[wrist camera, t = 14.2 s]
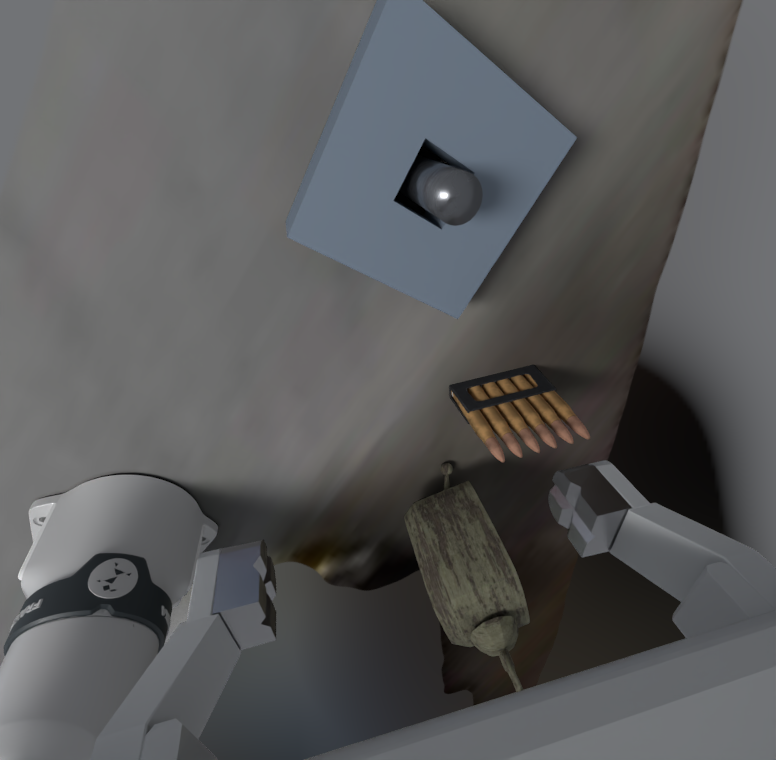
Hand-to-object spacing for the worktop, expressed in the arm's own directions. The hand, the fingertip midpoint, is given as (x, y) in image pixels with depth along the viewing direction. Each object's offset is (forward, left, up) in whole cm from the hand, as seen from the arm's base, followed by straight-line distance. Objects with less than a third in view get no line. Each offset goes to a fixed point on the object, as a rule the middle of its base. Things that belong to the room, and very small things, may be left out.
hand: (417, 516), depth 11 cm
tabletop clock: (-25, -29, -29) cm, 48 cm away
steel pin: (+8, -5, -29) cm, 31 cm away
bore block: (+8, -5, -29) cm, 31 cm away
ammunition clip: (-6, -25, -29) cm, 39 cm away
